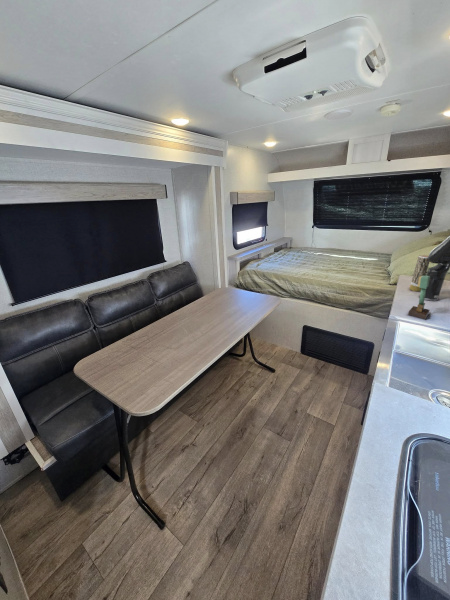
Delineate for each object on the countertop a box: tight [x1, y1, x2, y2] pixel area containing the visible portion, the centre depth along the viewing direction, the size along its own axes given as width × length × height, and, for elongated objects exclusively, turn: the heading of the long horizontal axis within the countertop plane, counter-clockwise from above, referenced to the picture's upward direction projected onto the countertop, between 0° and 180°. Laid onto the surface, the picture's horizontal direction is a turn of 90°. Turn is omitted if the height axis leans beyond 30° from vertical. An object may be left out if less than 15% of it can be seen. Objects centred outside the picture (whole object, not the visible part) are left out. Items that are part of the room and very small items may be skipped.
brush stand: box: [407, 302, 431, 320], centre depth 139 cm, size 9×8×7 cm
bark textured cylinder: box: [409, 254, 430, 292], centre depth 170 cm, size 7×7×25 cm
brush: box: [417, 276, 430, 305], centre depth 136 cm, size 5×4×19 cm
